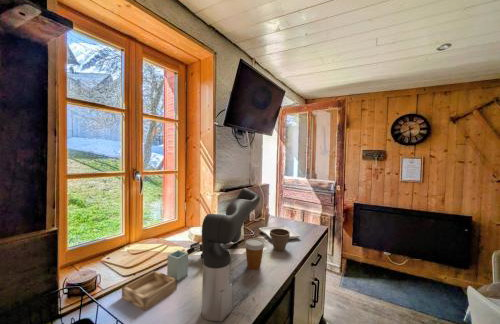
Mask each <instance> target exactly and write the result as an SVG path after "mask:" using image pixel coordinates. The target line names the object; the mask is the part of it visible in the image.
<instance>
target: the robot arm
mask: <svg viewBox="0 0 500 324" xmlns="http://www.w3.org/2000/svg"><path fill="white" fill-rule="evenodd" d="M260 199H261V198H260V196H259V194H258V193H256V192H255V191H252V190H251V189H249V188H246V187H244V188H242V189H240V191H239V193H238V195H237V197H236V199H235V200H233V201H232V202H231V203H229V205H227V207H226V209H225V214H216V213H207V214H206V215H205V216H204V218H203V220H202V224H201V243H200V241H197V242H194V243H192V244H189V245H190V246H189V248H187V249H186V253H188V255H190V254H192V253H194V252H197V253H200V252H201V254H200V259H202V281H201V282H202V284H201V288H202V289H201V291H202V293H201V295H202V296H201V315H202V318H204V319H205V320H207V321H212V322H220V323H221V322H222V321H224V319H226V317H227V316H228V315H229V314H230V313H231V312H232V305H233V304H232V303H233V283H231V259H232V257H231V252H230V251H228V250H227V249H226V248H225V247H224V246H226V245H227V244H228V245H229V244H231V243H232V242H233V244H234V243H238V242H239V241H240V239H241V237H242V227H243V226H244V223H245V221H246V220H247V219H248V217H249V216H250V214H251V213H252V212H253V211H254V210H255V209H256V208H257V207H258V205H259V203H260Z"/></svg>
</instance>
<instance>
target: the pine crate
mask: <svg viewBox="0 0 500 324" xmlns="http://www.w3.org/2000/svg"><path fill="white" fill-rule="evenodd" d="M121 287H122V288H121V298H122V299H123V300H125V301H126V302H128V303H129V304H132V305H134V306H135V307H138V308H140V309H141V310H143V311H147V310H149V308H151V307H153V306H155V305H156V304H157V303H159V302H160V301H162V300H164V298H166V297H167V296H169V295H171V294H172V293H173V292H175V291H176V290H177V289H178V282H177V279H175V278H173V277H170V276H168V275H167V274H165V273H163V272H161V271H158V270H155V269H154V270H152V271H150V272H149V273H148V272H147V274H145V275H142V276H141V277H139V278H137V279H135V280H133V281H131V282H128V283H127V284H125V285H123V286H121Z"/></svg>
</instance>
